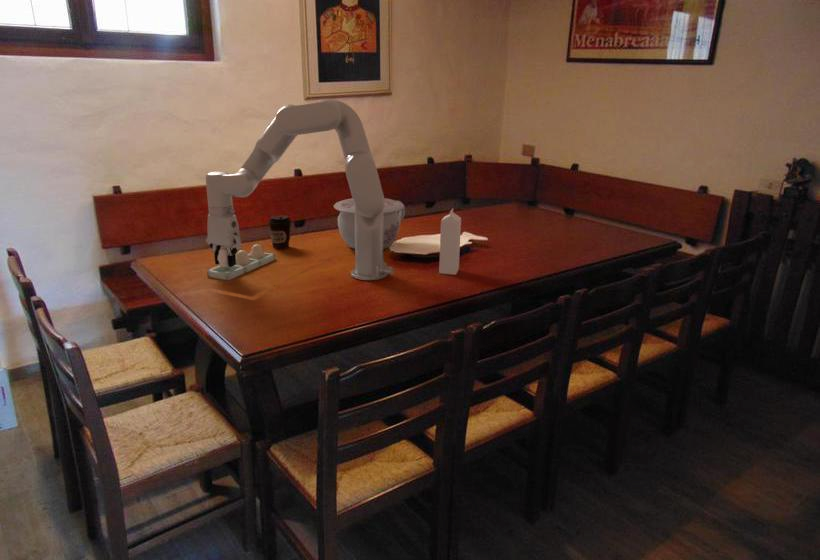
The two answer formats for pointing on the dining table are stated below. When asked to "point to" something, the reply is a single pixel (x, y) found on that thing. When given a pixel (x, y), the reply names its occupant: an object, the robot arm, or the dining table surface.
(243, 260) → the brown egg middle
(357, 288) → the dining table surface
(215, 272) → the egg carton
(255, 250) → the brown egg end
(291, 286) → the dining table surface
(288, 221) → the coffee cup
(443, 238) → the milk
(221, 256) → the white egg shape
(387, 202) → the chamber pot
